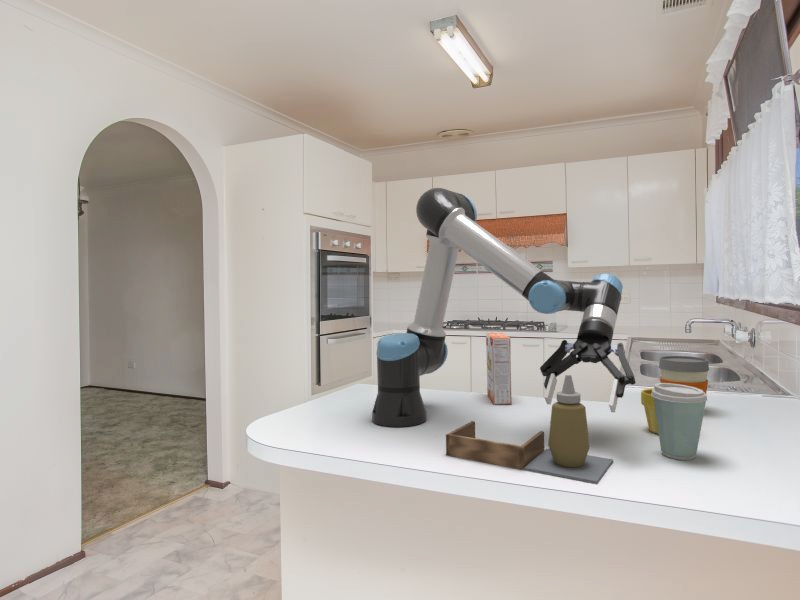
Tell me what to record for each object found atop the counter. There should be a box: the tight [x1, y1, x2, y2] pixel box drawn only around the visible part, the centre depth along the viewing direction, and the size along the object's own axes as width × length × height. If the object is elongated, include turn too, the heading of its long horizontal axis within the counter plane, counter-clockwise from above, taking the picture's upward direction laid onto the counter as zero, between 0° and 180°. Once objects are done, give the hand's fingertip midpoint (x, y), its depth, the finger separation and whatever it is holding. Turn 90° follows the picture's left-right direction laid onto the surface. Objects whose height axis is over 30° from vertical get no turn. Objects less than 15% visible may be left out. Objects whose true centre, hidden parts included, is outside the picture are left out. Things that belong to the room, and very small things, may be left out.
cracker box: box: [485, 332, 513, 405], centre depth 166 cm, size 14×6×21 cm, turn 178°
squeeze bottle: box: [547, 374, 591, 467], centre depth 106 cm, size 8×8×18 cm
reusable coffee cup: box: [658, 355, 710, 395], centre depth 147 cm, size 13×13×15 cm
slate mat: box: [523, 448, 614, 485], centre depth 106 cm, size 14×14×1 cm
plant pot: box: [640, 388, 659, 435], centre depth 129 cm, size 10×10×10 cm
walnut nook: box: [445, 420, 545, 471], centre depth 115 cm, size 18×13×4 cm
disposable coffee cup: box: [651, 382, 708, 461], centre depth 111 cm, size 11×11×15 cm
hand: (578, 405), depth 111 cm, fingers open, 13 cm apart
